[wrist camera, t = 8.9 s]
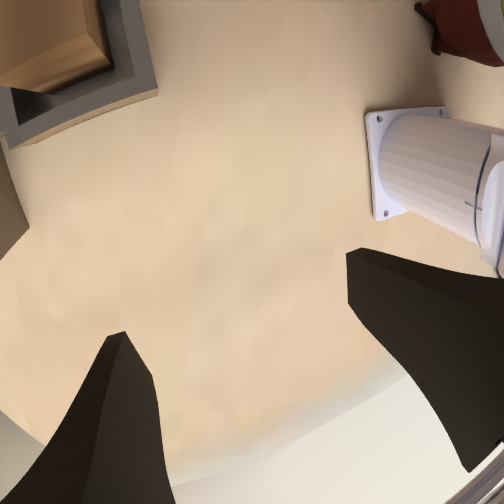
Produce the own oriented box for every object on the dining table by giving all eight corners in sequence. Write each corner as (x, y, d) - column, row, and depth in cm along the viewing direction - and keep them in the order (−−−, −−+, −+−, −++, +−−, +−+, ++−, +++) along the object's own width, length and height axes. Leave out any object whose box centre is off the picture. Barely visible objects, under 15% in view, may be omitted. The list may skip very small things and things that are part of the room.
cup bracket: (125, -64, 9) (122, -108, 4) (177, 170, 16) (186, 190, 12) (-32, 10, 7) (-70, -7, 2) (15, 234, 14) (-20, 272, 10)
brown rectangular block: (103, 12, 10) (77, -49, 4) (114, 69, 12) (87, 33, 6) (41, 37, 10) (-17, -1, 4) (51, 94, 12) (-12, 83, 6)
